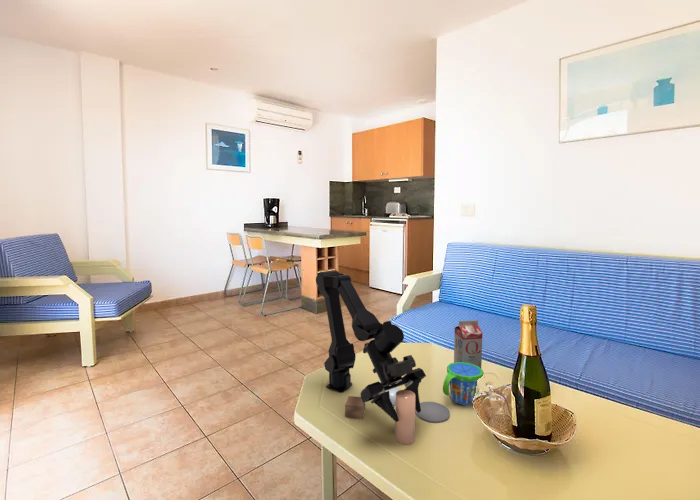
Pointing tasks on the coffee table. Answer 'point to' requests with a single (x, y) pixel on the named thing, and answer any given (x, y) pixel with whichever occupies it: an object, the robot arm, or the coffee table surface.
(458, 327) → the juice carton
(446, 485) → the coffee table surface
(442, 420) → the coaster
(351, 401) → the walnut block
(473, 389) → the snack cup
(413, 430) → the pink rounded cylinder
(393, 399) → the white dome
